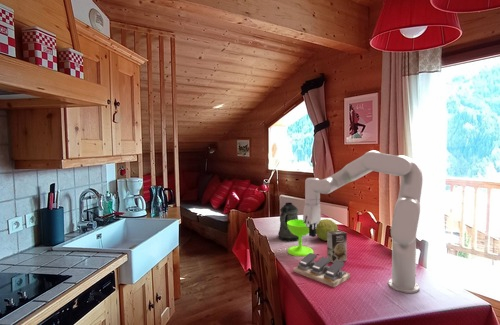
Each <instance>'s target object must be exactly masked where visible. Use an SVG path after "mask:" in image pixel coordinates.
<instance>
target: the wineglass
mask: <svg viewBox="0 0 500 325" xmlns="http://www.w3.org/2000/svg"><path fill="white" fill-rule="evenodd" d="M305 225H306V223H303V219H298V220H290V221H288V222H287V226H288V229H289V230H290V232H291V233H293V234H294V235H296V236H299V240H298V245H293V246H290V247H288V248H287V252H286V253H288V254H289V255H292V256H294V257H306V256H307V255H308V254H309V253H313V254H315V253H314V250H313V249H312V248H311V247H308V246H305V245H303V237H305V236H307V235H309V228H308V227H306V226H305Z"/></svg>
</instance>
